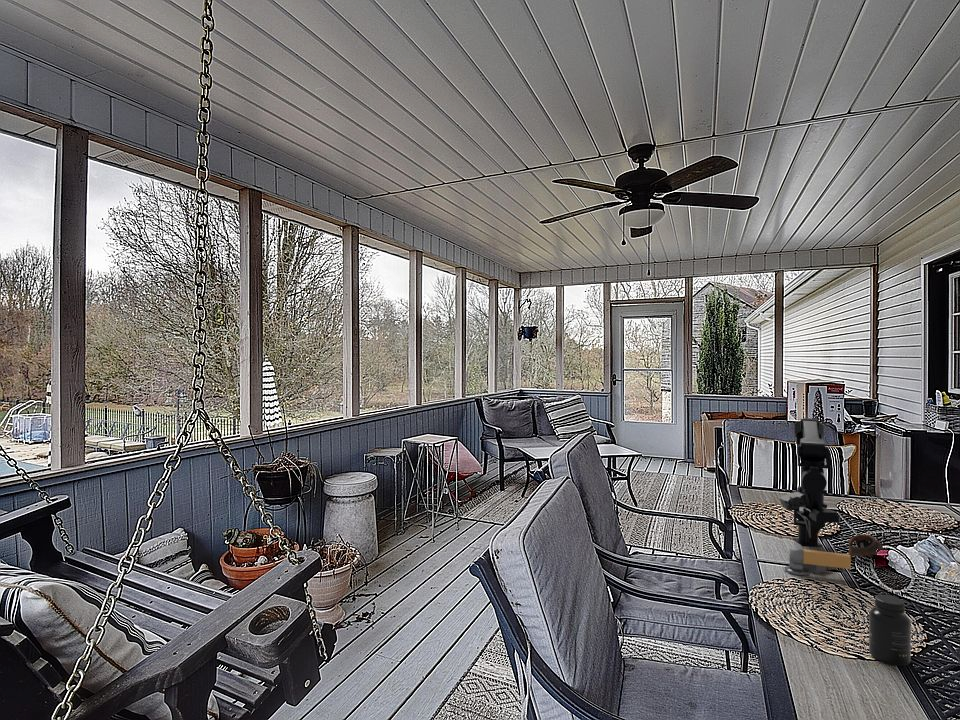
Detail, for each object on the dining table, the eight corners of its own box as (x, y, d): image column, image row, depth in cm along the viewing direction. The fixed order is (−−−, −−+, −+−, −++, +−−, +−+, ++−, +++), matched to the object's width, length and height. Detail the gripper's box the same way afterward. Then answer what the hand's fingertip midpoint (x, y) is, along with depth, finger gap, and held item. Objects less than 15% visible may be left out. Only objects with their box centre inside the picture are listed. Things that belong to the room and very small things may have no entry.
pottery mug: (897, 566, 161) (886, 543, 160) (864, 577, 163) (853, 554, 162) (874, 544, 172) (864, 522, 171) (844, 555, 175) (834, 533, 174)
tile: (792, 565, 161) (792, 556, 161) (802, 562, 163) (802, 554, 163) (816, 573, 155) (816, 564, 155) (826, 570, 157) (826, 561, 157)
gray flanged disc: (781, 567, 160) (781, 558, 160) (802, 568, 159) (802, 559, 159) (790, 575, 154) (790, 565, 154) (812, 576, 153) (812, 566, 153)
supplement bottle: (860, 649, 114) (860, 592, 114) (890, 648, 115) (891, 591, 115) (887, 668, 107) (887, 607, 107) (919, 666, 108) (920, 606, 108)
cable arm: (790, 562, 155) (790, 550, 155) (788, 558, 159) (788, 546, 159) (851, 570, 150) (851, 557, 150) (848, 565, 153) (848, 553, 153)
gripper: (770, 477, 169) (769, 527, 169) (798, 492, 150) (798, 548, 150) (808, 478, 168) (807, 528, 168) (841, 493, 149) (841, 549, 149)
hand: (812, 538), depth 159 cm, fingers closed
